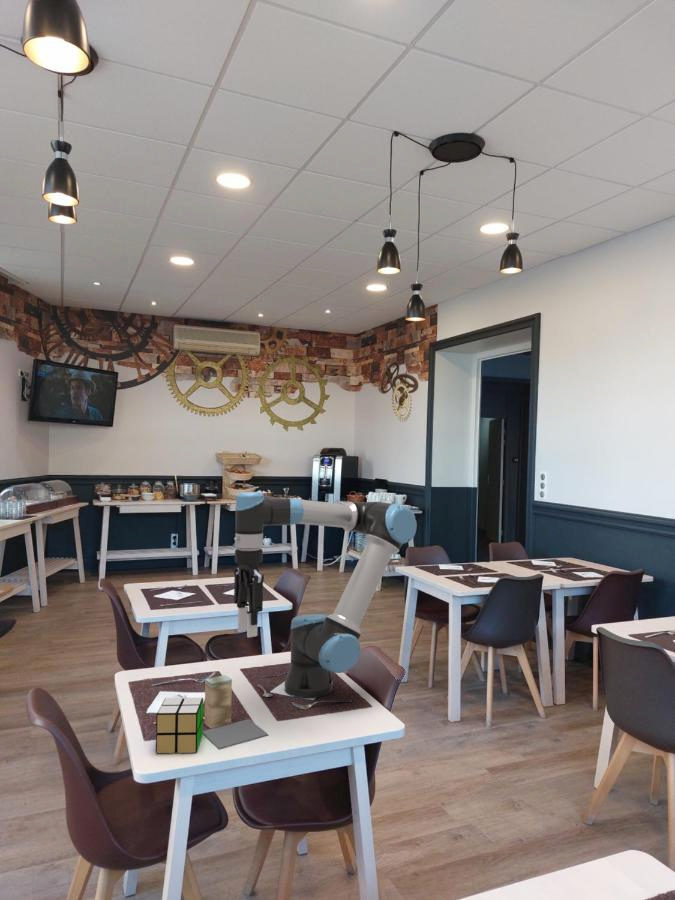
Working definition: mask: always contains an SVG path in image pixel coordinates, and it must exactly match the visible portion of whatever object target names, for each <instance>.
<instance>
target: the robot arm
mask: <svg viewBox="0 0 675 900" xmlns="http://www.w3.org/2000/svg"><path fill="white" fill-rule="evenodd" d="M234 510H235V536H234V538H233V539H234V542H235V545H234V547H235V548H236V549H235V550H234V562H235V564H237V565H239V566H238V567H235V568H233V575H234V582H233V583H234V587H233V603H234V604H235V605H236V607H237V632H238V633H244V632H246V637H247V638H253V637H257V636H258V621H259V620H258V619H259V618H258V617H259V616H258V615H259V612H263V606H264V605H263V604H264V603H263V601H264V596H263V595H264V592H263V591H264V580H265V576H264V574H260V573H259V570H260V569H259V567H258V566H259V564H262V563H263V559H264V558H263V557H264V556H263V555H264V552H263V549H262V548H263V546H264V527H269V526H292V525H310V526H322V527H323V526H324V527H335V528H343V530H344V531H345V532H346V531H347V532H355V533H358V534H361V535H365V536H364V537H365V540H366V544H365V547H364V549H363V551H362V553H361V554H360V556H359V560H358V561H357V564H356V566H355V567H354V569H353V572H352V574H351V576H350V578H349V580H348V582H347V584H346V585H345V589H344V590H343V593H342V595H341V597H340V599H339V601H338V603H337V605H336V607H335V609H334V611H333V613H332V614H329V615H328V614H324V613H323V614H322V613H320V614H319V613H311V614H301V615H298V616H295V617H293V618H292V619H291V624H290V666H289V668H288V671H287V675H286V678H285V679H284V691H285V692H286V693H287V694H289V695H290V694H291V695H290V696H292V695H294V696H293V697H296V696H297V698H302V699H303V698H304V699H305V698H306V699H311V698H312V699H313V698H319V697H324V696H327V695H329V694H330V693H332V692H333V688H334V687H333V684H334V683H333V679H332V678H333V677H332V675H331V673H334V674H342V673H344V672H347V671H349V670H351V669H352V668H353V667H354V666H355V665H356V664H357V662H359V659H360V656H361V644H360V642H359V640H360V638H361V635H362V631H361V628H360V626H361V623H362V621H363V619H364V616H365V615H366V613H367V610H368V608H369V606H370V603H371V601H372V599H373V596H374V594H375V592H376V591H377V589H378V586H379V584H380V582H381V580H382V578H383V575H384V572H385V571H386V568H387V566H388V564H389V563H390V560H391V557H392V556H393V555H395V554H397V553H399V552H400V550H401V548H402V546H403V544H406V543H408V542H411V541H412V540H413V539H414V537H415V535H416V532H417V527H418V524H417V523H418V522H417V520H416V515H415V514H414V512H413V511H412V510H411V508H409V507H408V506H406V505H403V504H399V503H389V502H381V501H366V502H365V501H362V502H360V501H358V502H357V501H347V502H345V503H336V502H326V501H317V500H308V499H307V500H306V499H299V498H297V497H296V498H295V497H293V498H292V497H287V498H286V497H279V496H278V497H277V496H269V495H264V493H263V492H261V491H242V492H238V493H237V495H236V499H235V508H234ZM330 672H331V673H330Z"/></svg>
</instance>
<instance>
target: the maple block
mask: <svg viewBox="0 0 675 900" xmlns="http://www.w3.org/2000/svg"><path fill="white" fill-rule="evenodd" d="M204 680H205V682H204V724H205V726H207V727H208V728H209V729H210V728H211V729H213V728H217V727H221V726H225V725H228V724H232V690H233V689H232V685H233V684H232V683H233V682H232V681H233V680H232V678H231V677H229V676H227V675H226V674H224V675H223V674H222V675H219V676H214V677H210V678H205V679H204Z"/></svg>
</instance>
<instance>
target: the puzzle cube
mask: <svg viewBox="0 0 675 900" xmlns="http://www.w3.org/2000/svg"><path fill="white" fill-rule="evenodd" d="M155 716H156V717H155V718H156V719H155V721H156V724H155V733H156V734H155V754H156V753H157V754H156V755H167V753H168V754H169V753H175V754H178V753H179V754H197V753H198V751H199V747H200V744H201V741H202V738H203V736H204V735H203V731H204V698H203V697H166V698H164V699H163V701H162V704H160V707H159V709H158V711H157V712H156V715H155ZM163 753H165V754H163Z"/></svg>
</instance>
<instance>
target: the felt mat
mask: <svg viewBox="0 0 675 900" xmlns="http://www.w3.org/2000/svg"><path fill="white" fill-rule="evenodd" d="M202 736H204V737H205V738H206V739H207V740H208V741H209V742H210V743H212V745H214V746H215V748H217V749H218V750H223V749H225V748H226V749H227V748H230V747H232V746H236V745H237V746H238V745H239V744H243V743H246V742H251V741H252V740H253V741H254V740H257V739H261V738H263V737H268V736H269V734H268V732H266V731H265V730H264V729H263V728H261V727H260V726H258V725H257V724H256V723H255V722H253V721H252V720H251V719H250V718H248V719H244V720H240V721H237V722H234V723H233V722H231V723H230V724H226V725H223V726H219V727H215V728H211V729H210V728H209V729H206V730H203V735H202Z"/></svg>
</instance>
